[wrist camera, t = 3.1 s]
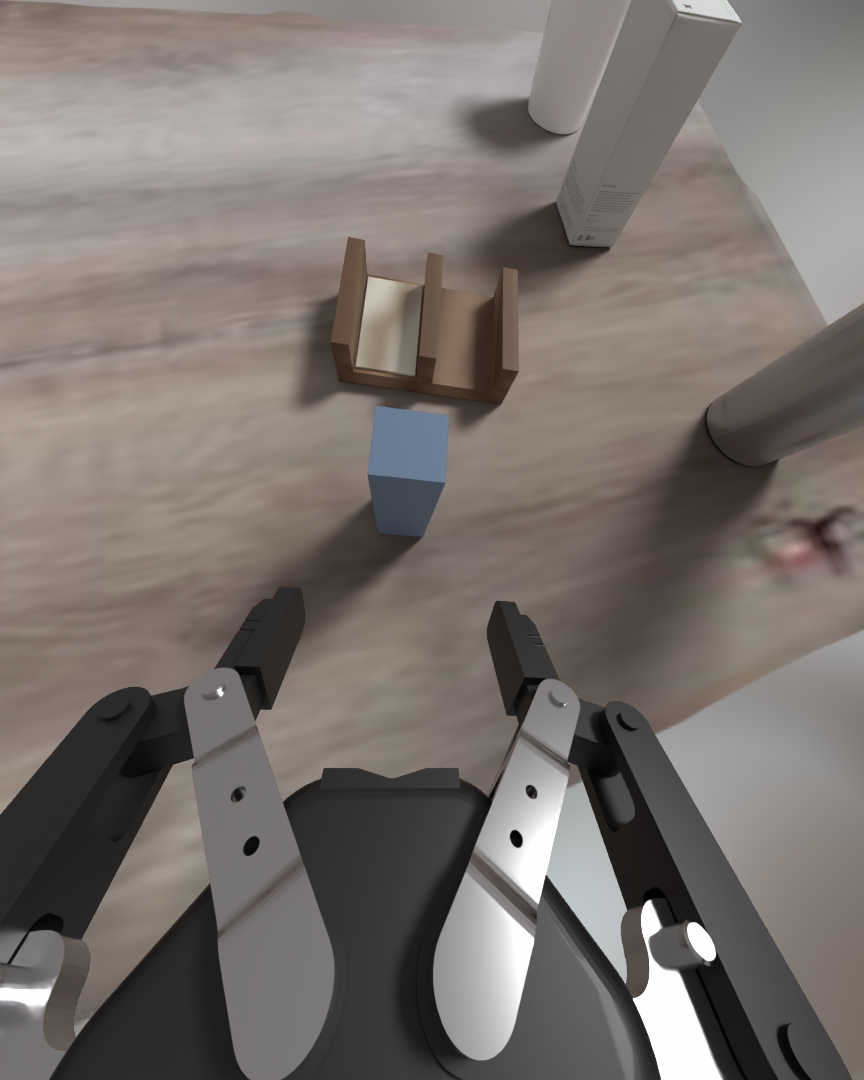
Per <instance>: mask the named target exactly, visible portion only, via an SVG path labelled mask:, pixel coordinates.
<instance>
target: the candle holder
mask: <svg viewBox="0 0 864 1080" xmlns="http://www.w3.org/2000/svg"><path fill="white" fill-rule="evenodd" d="M630 2H631V0H552V1H551V5H550V10H549V14H548V18H547V23H546V27H545V31H544V35H543V40H542V44H541V48H540V53H539V57H538V61H537V66H536V70H535V74H534V79H533V83H532V87H531V92H530V96H529V101H528V112H529V114H530V116H531V118H532V119H533V121H534V122H535V123H536V124H538V125H539V126H540V127H542V128H543V129H545V130H547V131H549V132H552V133H556V134H562V135H566V134H571V133H574V132H575V131H577V130H578V129H579V127H580V126H581V124H582V122H583V119H584V117H585V115H586V113H587V110H588V108H589V106H590V103H591V101H592V99H593V97H594V94H595V92H596V90H597V87H598V85H599V83H600V80H601V78H602V76H603V73H604V71H605V69H606V66H607V64H608V61H609V58H610V56H611V53H612V50H613V48H614V45H615V42H616V40H617V37H618V34H619V32H620V29H621V26H622V24H623V21H624V18H625V16H626V13H627V10H628V7H629V5H630Z"/></svg>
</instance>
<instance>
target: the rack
mask: <svg viewBox="0 0 864 1080" xmlns="http://www.w3.org/2000/svg"><path fill="white" fill-rule="evenodd" d="M442 267H443V255H438V254H433V253H428V257H427V266H426V276H425V285H422V284H417V283H411V282H406V281H400V280H395V279H389V278H384V277H378V276H373V275H367V267H366V253H365V240H361V239H356V238H351V237H348V241H347V247H346V253H345V259H344V265H343V271H342V277H341V283H340V289H339V295H338V301H337V307H336V313H335V319H334V325H333V330H332V336H331V346H332V351H333V355H334V359H335V364H336V368H337V373H338V377H339V381H342V382H349V383H356V384H363V385H370V386H377V387H384V388H391V389H398V390H405V391H412V392H419V393H426V394H433V395H440V396H447V397H454V398H461V399H468V400H475V401H482V402H489V403H496V404H502V402H503V400H504V398H505V396H506V394H507V392H508V390H509V389H510V387H511V385H512V383H513V381H514V379H515V377H516V375H517V373H518V372H519V354H518V270H515V269H510V268H505V267H503V269H502V272H501V275H500V278H499V281H498V285H497V288H496V291H495V294H494V297H488V296H483V295H477V294H472V293H466V292H461V291H455V290H450V289H444V288H441V282H442Z"/></svg>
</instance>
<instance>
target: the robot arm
mask: <svg viewBox="0 0 864 1080" xmlns="http://www.w3.org/2000/svg"><path fill="white" fill-rule="evenodd" d="M707 426H708V429H709V433H710V435H711V437H712V439H713V441H714V442H715V443H716V445H717V446H718V448H719V449H720V450H721V451H722V452H723V453H724V454H725V455H727V456H728V457H729V458H731V459H732V460H734V461H736V462H738V463H740V464H743V465H746V466H762V465H764V464H767V463H770V462H772V461H775V460H777V459H781V458H784V457H786V456H789V455H792V454H794V453H797V452H799V451H802V450H804V449H807V448H809V447H812V446H815V445H817V444H820V443H822V442H825V441H827V440H830V439H832V438H835V437H838V436H840V435H843V434H845V433H848V432H850V431H853V430H855V429H858V428H861V427H863V426H864V303H863V304H861V305H860V306H858V307H857V308H855V309H853V310H852V311H850V312H849V313H848V314H846V315H844V316H843V317H841V318H840V319H838V320H837V321H835V322H834V323H832V324H830V325H829V326H827V327H826V328H824V329H823V330H821V331H820V332H818V333H817V334H815V335H814V336H812V337H811V338H809V339H807V340H806V341H804V342H803V343H801V344H800V345H798V346H797V347H795V348H794V349H792V350H791V351H789V352H788V353H786V354H784V355H783V356H781V357H780V358H778V359H777V360H775V361H774V362H772V363H771V364H769V365H768V366H766V367H765V368H763V369H762V370H760V371H758V372H757V373H755V374H754V375H752V376H751V377H749V378H748V379H746V380H745V381H743V382H742V383H740V384H739V385H737V386H736V387H734V388H733V389H731V390H729V391H728V392H726V393H725V394H723V395H722V396H720V397H719V398H717V399H716V400H714V401H713V402H712V404H711V405H710V407H709V409H708V412H707ZM304 624H305V610H304V602H303V594H302V589H301V588H297V587H280V588H279V589H278V590H277V592H276V594H275V596H274V597H273V599H263V600H262V601H261V602H260V603H258V604H257V605H256V606H255V607H253V608H252V610H251V611H250V613H249V615H248V616H247V618H246V619H245V622H243V624H242V626H241V627H240V630H239V631H238V632H237V634H236V635H235V637H234V638H233V640H232V642H231V643H230V645H229V646H228V648H227V649H226V651H225V653H224V654H223V656H222V657H221V659H220V661H219V662H218V664H217V665H216V667H215V668H214V669H213V670H211V671H208V672H206V673H204V674H202V675H201V676H199V677H198V678H197V679H195V680H194V681H193V682H192V683H191V685H190V686H188V687H185V688H182V689H178V690H173V691H169V692H165V693H161V694H157V695H152V696H151V695H150V693H149V692H148V691H147V690H146V689H144V688H141V687H129V688H124V689H121V690H118V691H116V692H113V693H111V694H109V695H107V696H106V697H104V698H102V699H101V700H99V701H98V702H97V703H95V704H94V705H93V706H92V707H91V708H90V709H89V710H88V711H87V712H86V713H85V715H84V716H83V717H82V718H81V719H80V720H79V722H78V723H77V724H76V725H75V726H74V728H73V729H72V730H71V731H70V732H69V734H68V735H67V736H66V737H65V738H64V740H63V741H62V742H61V743H60V744H59V745H58V747H57V748H56V749H55V750H54V751H53V753H52V754H51V755H50V756H49V757H48V759H47V760H46V761H45V762H44V763H43V765H42V766H41V767H40V768H39V769H38V771H37V772H36V773H35V774H34V775H33V776H32V778H31V779H30V780H29V781H28V782H27V784H26V785H25V786H24V787H23V788H22V790H21V791H20V792H19V793H18V794H17V796H16V797H15V798H14V799H13V800H12V802H11V803H10V804H9V805H8V806H7V807H6V809H5V810H4V811H3V812H2V813H1V815H0V1080H852V1079H851V1076H850V1074H849V1072H848V1070H847V1068H846V1066H845V1064H844V1063H843V1061H842V1058H841V1057H840V1055H839V1053H838V1051H837V1050H836V1048H835V1046H834V1044H833V1043H832V1041H831V1039H830V1038H829V1036H828V1034H827V1032H826V1031H825V1029H824V1027H823V1025H822V1024H821V1022H820V1020H819V1018H818V1017H817V1015H816V1013H815V1012H814V1010H813V1008H812V1006H811V1005H810V1003H809V1001H808V999H807V998H806V996H805V994H804V992H803V991H802V989H801V987H800V986H799V984H798V982H797V980H796V979H795V977H794V975H793V973H792V972H791V970H790V968H789V966H788V965H787V963H786V961H785V960H784V958H783V956H782V954H781V953H780V951H779V949H778V947H777V946H776V944H775V942H774V940H773V939H772V937H771V935H770V934H769V932H768V930H767V928H766V926H765V925H764V923H763V921H762V920H761V918H760V917H759V915H758V913H757V911H756V909H755V907H754V906H753V904H752V902H751V900H750V899H749V897H748V895H747V893H746V892H745V890H744V888H743V887H742V885H741V883H740V881H739V880H738V878H737V876H736V875H735V873H734V871H733V869H732V867H731V866H730V864H729V862H728V861H727V859H726V857H725V855H724V854H723V852H722V850H721V848H720V847H719V845H718V843H717V841H716V840H715V838H714V836H713V835H712V833H711V831H710V829H709V828H708V826H707V824H706V823H705V821H704V819H703V817H702V816H701V814H700V812H699V810H698V808H697V807H696V805H695V804H694V802H693V800H692V798H691V797H690V795H689V793H688V791H687V789H686V788H685V786H684V784H683V782H682V781H681V779H680V777H679V776H678V774H677V772H676V770H675V769H674V767H673V765H672V763H671V762H670V760H669V758H668V756H667V755H666V753H665V751H664V749H663V748H662V746H661V745H660V743H659V741H658V739H657V737H656V736H655V734H654V732H653V730H652V729H651V727H650V725H649V723H648V722H647V720H646V719H645V718H644V717H643V715H642V714H641V713H640V712H638V711H637V710H636V709H635V708H633V707H632V706H630V705H628V704H626V703H624V702H620V701H612V702H610V703H608V704H607V706H606V707H605V708H604V707H601V706H598V705H595V704H592V703H589V702H587V701H584V700H581V699H579V698H578V697H577V696H576V694H575V693H574V691H573V690H572V689H571V688H570V687H569V686H567V685H566V684H564V683H563V682H561V681H560V680H559V678H558V676H557V673H556V671H555V669H554V666H553V664H552V662H551V660H550V657H549V655H548V653H547V651H546V648H545V646H543V642H542V639H541V637H540V635H539V633H538V630H537V628H536V626H535V624H534V623H533V622H532V621H531V620H530V619H529V617H528V616H527V615H520V613H519V610H518V608H517V605H516V604H515V602H508V601H496V602H495V604H494V607H493V611H492V614H491V617H490V620H489V623H488V627H487V640H488V644H489V648H490V652H491V656H492V660H493V663H494V667H495V671H496V675H497V679H498V683H499V687H500V691H501V695H502V699H503V703H504V707H505V711H506V715H507V716H517V719H518V723H519V725H518V726H517V729H516V731H515V733H514V736H513V738H512V740H511V743H510V745H509V747H508V750H507V752H506V755H505V757H504V759H503V762H502V764H501V766H500V769H499V771H498V773H497V775H496V778H495V780H494V782H493V784H492V786H491V788H490V790H489V793H488V795H487V796H486V795H485V794H484V793H483V792H482V791H481V790H479V789H478V788H477V787H475V786H474V785H472V784H470V783H468V782H466V781H464V780H462V779H459V771H458V768H425V769H422V770H419V771H416V772H413V773H410V774H407V775H403V776H400V777H397V778H387V777H384V776H381V775H378V774H374V773H371V772H368V771H365V770H362V769H359V768H324V769H323V774H322V778H321V779H320V780H317V781H314V782H312V783H309V784H307V785H305V786H304V787H302V788H300V789H299V790H297V791H296V792H294V793H293V794H292V795H290V796H289V797H288V798H287V799H286V800H285V801H284V802H282V799H281V796H280V793H279V790H278V787H277V784H276V781H275V778H274V775H273V772H272V769H271V766H270V764H269V761H268V758H267V755H266V752H265V749H264V746H263V743H262V740H261V737H260V734H259V731H258V728H257V726H256V723H255V721H256V718H257V716H258V714H259V711H260V709H262V710H271V709H272V706H273V704H274V701H275V699H276V696H277V694H278V691H279V689H280V686H281V684H282V681H283V679H284V676H285V674H286V671H287V669H288V666H289V664H290V661H291V659H292V656H293V654H294V651H295V649H296V646H297V644H298V641H299V639H300V636H301V634H302V631H303V628H304ZM193 758H194V764H193V765H192V777H193V783H194V789H195V795H196V801H197V807H198V813H199V819H200V825H201V831H202V837H203V842H204V848H205V854H206V860H207V866H208V872H209V878H210V884H209V885H208V886H207V887H206V888H205V890H204V891H203V892H202V893H201V894H200V895H199V896H198V897H197V899H196V900H195V901H194V902H193V903H192V904H191V905H190V906H189V908H188V909H187V910H186V911H185V912H184V913H183V914H182V915H181V917H180V918H179V919H178V920H177V921H176V922H175V923H174V924H173V926H172V927H171V928H170V929H169V930H168V931H167V932H166V933H165V935H164V936H163V937H162V938H161V939H160V940H159V941H158V943H157V944H156V945H155V946H154V947H153V948H152V949H151V950H150V952H149V953H148V954H147V955H146V956H145V957H144V958H143V959H142V961H141V962H140V963H139V964H138V965H137V966H136V967H135V968H134V970H133V971H132V972H131V973H130V974H129V975H128V976H127V977H126V979H125V980H124V981H123V982H122V983H121V984H120V985H119V986H118V988H117V989H116V990H115V991H114V992H113V993H112V994H111V995H110V997H109V998H108V999H107V1000H106V1001H105V1002H104V1003H103V1004H102V1006H101V1007H100V1008H99V1009H98V1010H97V1011H96V1013H95V1014H94V1015H93V1016H92V1017H91V1019H90V1020H89V1021H88V1022H87V1024H86V1025H85V1026H84V1028H83V1029H82V1030H81V1032H80V1033H79V1034H78V1036H77V1037H75V1032H74V1016H75V1010H76V1006H77V1002H78V999H79V996H80V994H81V991H82V989H83V986H84V983H85V981H86V978H87V975H88V971H89V966H90V952H89V948H88V946H87V945H86V943H84V942H83V941H82V940H81V939H82V937H83V935H84V933H85V931H86V929H87V928H88V926H89V924H90V922H91V920H92V918H93V916H94V914H95V912H96V910H97V908H98V907H99V905H100V903H101V901H102V899H103V897H104V895H105V893H106V891H107V889H108V888H109V886H110V884H111V882H112V880H113V878H114V876H115V874H116V872H117V870H118V869H119V867H120V865H121V863H122V861H123V859H124V857H125V855H126V853H127V851H128V849H129V848H130V846H131V844H132V842H133V840H134V838H135V836H136V834H137V832H138V830H139V829H140V827H141V825H142V823H143V821H144V819H145V817H146V815H147V813H148V811H149V810H150V808H151V806H152V804H153V802H154V800H155V798H156V796H157V794H158V792H159V791H160V789H161V787H162V785H163V783H164V781H165V779H166V777H167V775H168V773H169V771H170V770H171V768H172V766H173V765H174V764H177V763H180V762H183V761H186V760H189V759H193ZM567 762H570V763H572V764H575V765H577V766H578V768H579V771H580V774H581V777H582V780H583V783H584V785H585V788H586V791H587V794H588V797H589V800H590V803H591V806H592V809H593V812H594V814H595V818H596V821H597V823H598V826H599V829H600V832H601V835H602V838H603V841H604V844H605V847H606V849H607V852H608V855H609V858H610V861H611V864H612V867H613V870H614V873H615V875H616V878H617V881H618V884H619V887H620V890H621V893H622V896H623V899H624V902H625V905H626V908H627V912H626V913H625V914H624V916H623V919H622V923H621V937H622V944H623V948H624V954H625V958H626V964H627V980H626V985H625V983H624V981H623V980H622V978H621V977H620V976H619V974H618V972H617V971H616V969H615V968H614V967H613V965H612V964H611V963H610V961H609V960H608V958H607V957H606V956H605V954H604V953H603V952H602V950H601V949H600V947H599V946H598V945H597V943H596V942H595V941H594V939H593V938H592V937H591V935H590V934H589V933H588V931H587V930H586V929H585V927H584V926H583V924H582V923H581V922H580V920H579V919H578V918H577V916H576V915H575V913H574V912H573V911H572V910H571V908H570V907H569V905H568V904H567V903H566V901H565V900H564V898H563V897H562V896H561V895H560V893H559V892H558V891H557V889H556V888H555V887H554V885H553V884H552V882H551V881H550V879H549V878H548V877H547V875H546V870H547V866H548V862H549V857H550V853H551V849H552V845H553V841H554V836H555V832H556V828H557V824H558V819H559V815H560V811H561V807H562V803H563V798H564V794H565V790H566V786H567V782H568V777H569V772H570V766H569V765H568V764H567Z"/></svg>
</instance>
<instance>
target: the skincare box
mask: <svg viewBox="0 0 864 1080" xmlns="http://www.w3.org/2000/svg"><path fill="white" fill-rule="evenodd" d="M741 25H742V22H741V21H740V19H739V18H738V16H737V15H736V13H735V12H734V10H733V9H732V7H731V6H730V4H729V3H728V1H727V0H631V2H630V5H629V7H628V10H627V13H626V16H625V18H624V21H623V24H622V26H621V29H620V32H619V34H618V37H617V40H616V42H615V45H614V48H613V50H612V53H611V56H610V58H609V61H608V64H607V66H606V69H605V72H604V74H603V77H602V80H601V82H600V85H599V88H598V90H597V93H596V96H595V98H594V101H593V104H592V106H591V109H590V112H589V114H588V117H587V120H586V122H585V125H584V127H583V130H582V133H581V136H580V138H579V141H578V144H577V146H576V149H575V152H574V154H573V157H572V160H571V162H570V165H569V168H568V170H567V173H566V175H565V178H564V181H563V183H562V186H561V189H560V191H559V194H558V197H557V199H556V204H557V207H558V210H559V213H560V216H561V219H562V222H563V225H564V228H565V231H566V235H567V238H568V241H569V244H570V245H575V246H591V247H612V246H613V245H614V244H615V242H616V240H617V239H618V237H619V235H620V233H621V232H622V230H623V228H624V226H625V225H626V223H627V221H628V220H629V218H630V216H631V214H632V213H633V211H634V209H635V207H636V206H637V204H638V202H639V200H640V199H641V197H642V195H643V194H644V192H645V190H646V188H647V187H648V185H649V183H650V181H651V180H652V178H653V176H654V174H655V173H656V171H657V169H658V167H659V166H660V164H661V162H662V160H663V159H664V157H665V155H666V154H667V152H668V150H669V148H670V147H671V145H672V143H673V141H674V140H675V138H676V136H677V135H678V133H679V131H680V129H681V128H682V126H683V124H684V122H685V121H686V119H687V117H688V116H689V114H690V112H691V110H692V109H693V107H694V105H695V104H696V102H697V100H698V98H699V97H700V95H701V93H702V91H703V90H704V88H705V86H706V84H707V82H708V81H709V79H710V77H711V76H712V74H713V72H714V70H715V69H716V67H717V65H718V63H719V61H720V60H721V58H722V57H723V55H724V53H725V51H726V50H727V48H728V46H729V45H730V43H731V41H732V39H733V38H734V36H735V34H736V32H737V31H738V29H739V27H740V26H741Z"/></svg>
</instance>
